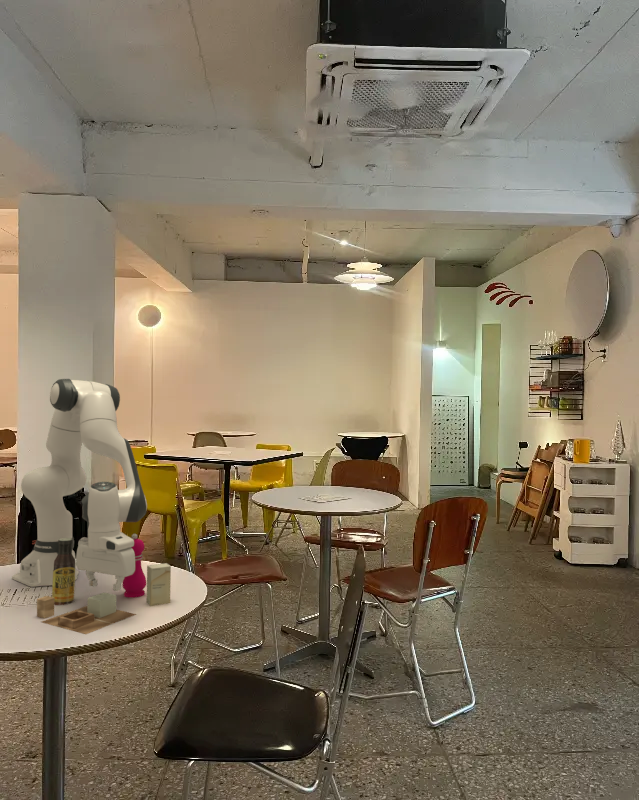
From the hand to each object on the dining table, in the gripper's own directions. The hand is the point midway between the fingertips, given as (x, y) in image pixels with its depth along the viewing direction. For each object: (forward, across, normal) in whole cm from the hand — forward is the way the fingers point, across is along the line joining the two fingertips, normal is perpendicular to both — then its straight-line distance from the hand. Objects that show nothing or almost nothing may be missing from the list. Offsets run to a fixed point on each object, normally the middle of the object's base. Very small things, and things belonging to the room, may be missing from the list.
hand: (105, 588), depth 189 cm
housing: (+7, -1, 0) cm, 7 cm away
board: (+8, -1, -5) cm, 10 cm away
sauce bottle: (+8, -19, +1) cm, 21 cm away
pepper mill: (+8, -6, +17) cm, 20 cm away
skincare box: (+9, +6, +15) cm, 18 cm away
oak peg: (+8, -13, -10) cm, 18 cm away
